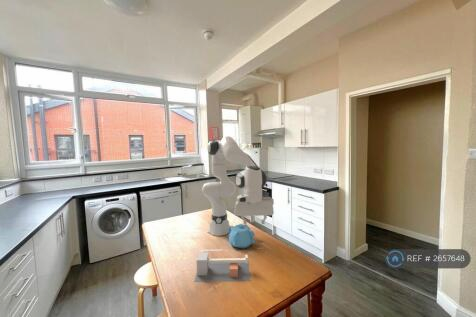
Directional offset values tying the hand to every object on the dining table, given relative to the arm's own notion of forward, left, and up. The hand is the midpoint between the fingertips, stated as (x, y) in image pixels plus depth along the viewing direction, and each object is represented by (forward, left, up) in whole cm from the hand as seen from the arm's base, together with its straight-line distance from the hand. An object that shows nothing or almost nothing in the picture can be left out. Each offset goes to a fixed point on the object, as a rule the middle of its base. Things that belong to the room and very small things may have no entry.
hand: (253, 223), depth 99 cm
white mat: (-14, -25, -25) cm, 38 cm away
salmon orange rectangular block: (+1, -11, -24) cm, 26 cm away
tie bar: (+1, -16, -20) cm, 25 cm away
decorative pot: (-28, -6, -25) cm, 38 cm away
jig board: (+1, -16, -25) cm, 30 cm away
